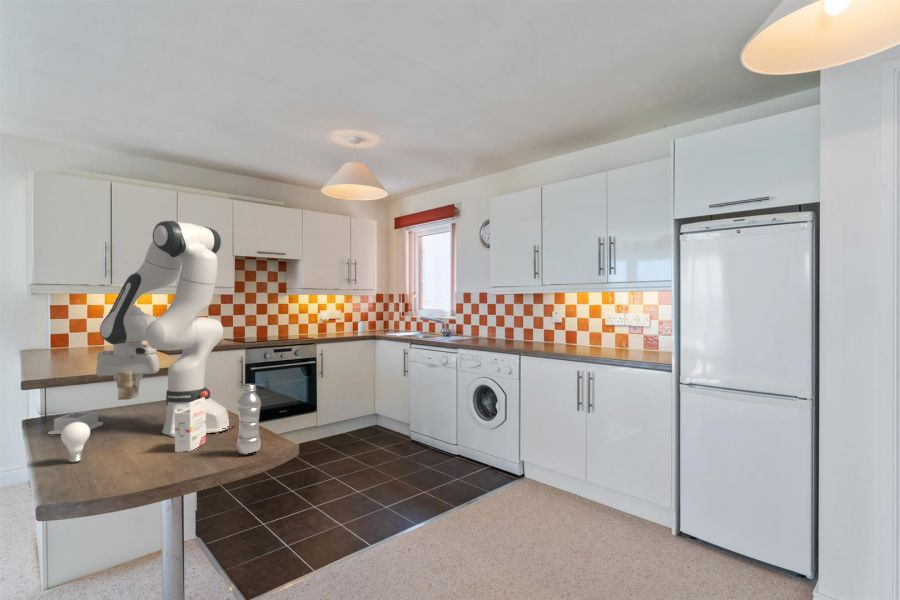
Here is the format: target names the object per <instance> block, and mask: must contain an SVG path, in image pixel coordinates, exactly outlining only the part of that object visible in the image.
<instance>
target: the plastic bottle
mask: <svg viewBox="0 0 900 600" xmlns="http://www.w3.org/2000/svg"><path fill="white" fill-rule="evenodd" d="M241 387H242V390H241V392H242V394H241V395H240V397H239V399H238V400H237V402H236V406H237V413H238V422H239V423H238V426H239V427H238V434H237V435H238V436H237V437H238V438H237V441H236V450H237V452H238V453H239V454H240V455H249V454H248V453H252V452H255V451H258V450H259V451H260V449H261V443H262V442H261V436H260V427H259V423H260V421H259V420H260V413H261V405H262V401H261V399H260V397H259V395H258V394H257V392H256V391H257V385H256V384H255V383H245V384H242V386H241ZM259 451H258V452H259Z"/></svg>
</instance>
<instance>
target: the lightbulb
mask: <svg viewBox="0 0 900 600" xmlns="http://www.w3.org/2000/svg"><path fill="white" fill-rule="evenodd" d="M90 436H91V430H90V428H89V426H88V425H87V424H85V423H83V422H73V423H70V424H68V425H67V426H66V427H65V428H64V429H63V430H62V432H61V435H60V440H61V441H62V443H63V444H64V445H65V446H66V447H67V452H68V454H69V458H68V461H69V462H70V463H73V464H75V463H78V462H80V461H81V460H82V459H83V457H82V455H83V450H84V447H85V446H84V445H85V444H86V442H87V441H88V440H89V438H90Z"/></svg>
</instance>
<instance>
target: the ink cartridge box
mask: <svg viewBox="0 0 900 600" xmlns="http://www.w3.org/2000/svg"><path fill="white" fill-rule="evenodd" d="M197 402H198V403H200V405H198V406H195V404H197ZM205 442H206V443H207V434H206V405H205V398H204V397H203V398H201V399H198V400H195V401H192V402H190V403H189V408H187V409H184V410H181V411H179V412H176V413H175V437H174V452H175V453H184V452H183V451H191V450H193V449H195V448H197V447H199V446H200V445H202V444H204V443H205ZM204 445H205V444H204ZM199 448H200V447H199ZM197 449H198V448H197ZM195 450H196V449H195ZM180 451H181V452H180Z"/></svg>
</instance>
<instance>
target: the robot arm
mask: <svg viewBox="0 0 900 600" xmlns="http://www.w3.org/2000/svg"><path fill="white" fill-rule="evenodd" d="M151 241H152V242H151V243H150V245H149V247H148V250H147V252H146V254H145V257H144V259H143V260H144V261H143V263H142V264H141V266H140V267H138V270H137V271H135V272H134V273H132V274H131V275H129V276H128V277H127V279H126V280H125V282H124V284H123V286H122V287H121V289H120V290H119V293H118V295H117V297H116V299H115V301H114V302H113V305H112V307H111V309H110V310H109V312H108V314H107V315H106V317H105V318H104V319H103V321H102V322H101V323H100V327H99V334H100V337H101V338H102V339H103V340H104V341H106V342H107V343H109V344H111V345H113V346H112V347H113V348H112V349H113V350H102V351H101V352H99V353H98V354H97V355H96V357H97V362H96V363H97V364H96V370H95V374H96V375H97V376H98V377H106V376H108V377H109V376H113V377H112V378H113V380H114V382H115V383H116V388H117V389H118V372H131V374H132V375H136V377H138V378H137V380H136V381H135V382H133V387H138V386H139V387H140V385H141V384H140V382H141V380H142V379H143V377H144V375H154V374H156V373H158V372H159V371H160V361H159V360H160V359H159V356H158V354H156V353H157V350H159V351H167V352H168V351H180V350H181V351H182V353H181V355H180V356H179V358H178V359H177V360H176V361H174V362H173V363H171V364H170V365H169V367H168V369H167V370H168V371H167V390H166V393H165V403H166V404H165V405H166V415H165V421H164V424H163V428H162V430H161V433H162V434H163V435H166V436H170V437H172V438H175V413H176V412H179V411H181V410H184V409H187V408H189V403H190V402H192V401H195V400H198V399H201V398H203V397H204V398H205V405H206V433H211V432H218V431H222V430H225V429H222V428H226V429H227V428H228V427H227V426H229V421H230V417H229V414H228V413H229V412H228V410H227V408H226V407H225V406H224V405H222V404H221V403H219V402H217V401H216V400H215V399H212V398H211V393H212V390H213V389H211V388H210V389H208V388H207V387H206V386H205V380H206V379H205V377H206V365H207V362H208V359H209V357H210V355H211V352H212V351H213V350H214V348H215V347H216V346H217V345H218V344H219V343H220V342H222V339H223V337H224V327H223V324H222V323H221V322H220V321H219V320H218V319H216V318H211V317H205V316H202V317H201V316H200V317H199V316H198V314H200V313H201V312H202V311H204V310H205V309H207V308H208V307H210V305H211V304H212V302H213V296H214V292H215V287H216V282H217V277H218V266H219V265H218V264H219V263H218V256H217V253H218V251H219V250H220V248H221V245H222V240H221V235H220V234H219V232H218V231H217V230H215V229H213V228H211V227H207V226H202V225H199V224H194V223H191V222H186V221H185V222H183V221H174V220H164V221H159V222H158V223H157V224H156V225H155V227H154V229H153V232H152V240H151ZM180 269H181V270H180ZM179 272H180V273H179ZM178 275H179V278H178ZM177 278H178V282H177V286H176V291H175V294H174V297H173V300H172V302H171V303H170V305H169V306H168V307H167V309H166V310H165V312H163V314H161V315H160V316H159V317H158V318H157V316H155V315H151V314H148V313H146V312H144V311H142V310H141V308H140V307H139V306H136V305H135V304H136V302H137V301H138V299H139V298H140V297H142V295H145V294H146V293H149V292H152V291H156V290H159V289H162V288H163V289H164V288H165V287H168V286H170V285H171V284H173V283H174V282H175V281H176V280H177ZM145 341H146V342H147V344H148V345H147V344H143V342H145ZM198 405H200V403H198V402H197V404H195V406H198Z"/></svg>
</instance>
